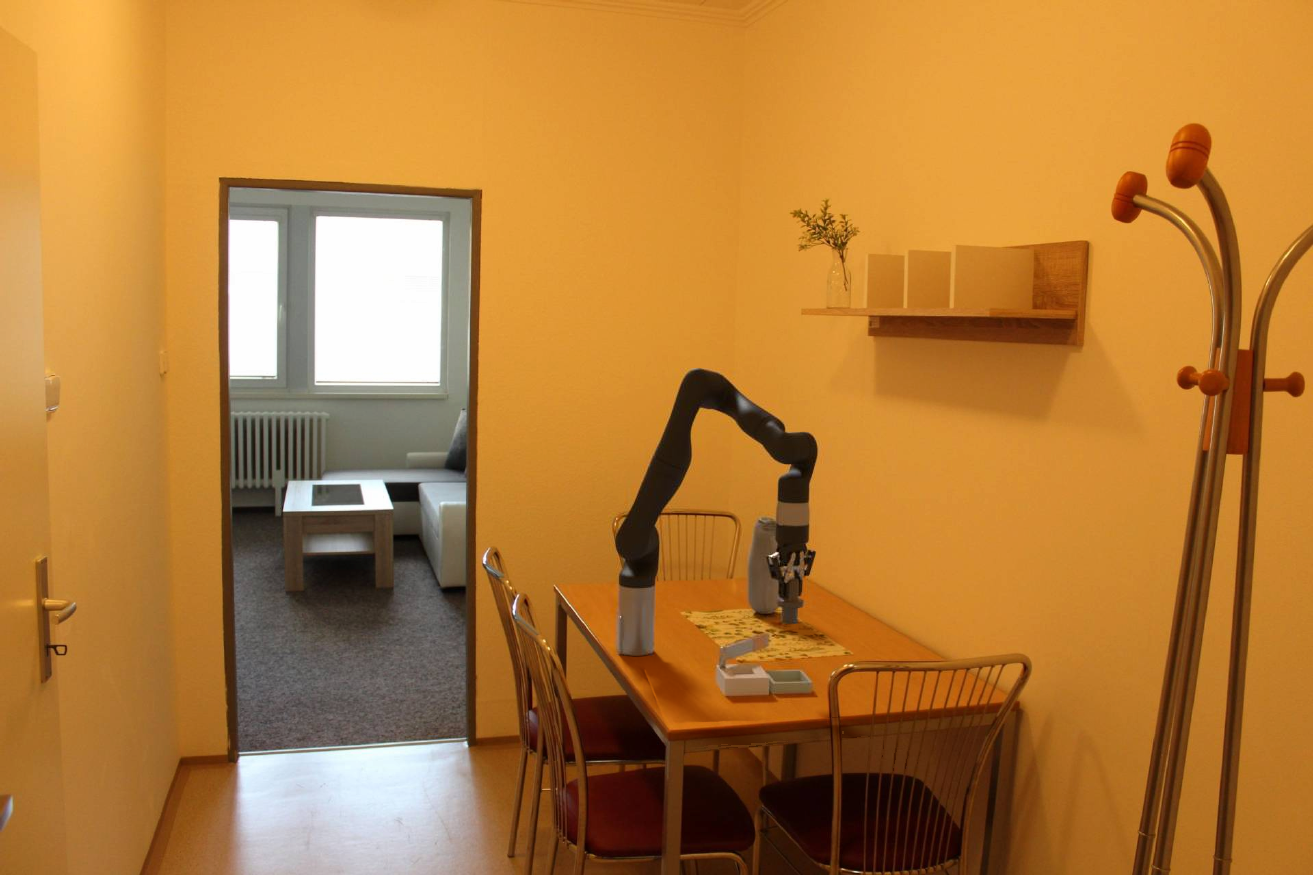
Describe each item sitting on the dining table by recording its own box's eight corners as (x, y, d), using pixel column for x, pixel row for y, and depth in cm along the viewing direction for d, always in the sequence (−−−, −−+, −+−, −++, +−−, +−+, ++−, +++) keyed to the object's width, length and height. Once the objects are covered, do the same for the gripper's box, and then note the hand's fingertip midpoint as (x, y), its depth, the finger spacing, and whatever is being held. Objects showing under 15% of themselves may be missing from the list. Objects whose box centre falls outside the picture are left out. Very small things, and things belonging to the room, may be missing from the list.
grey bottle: (787, 615, 309) (790, 520, 306) (756, 618, 305) (759, 521, 302) (771, 607, 318) (774, 514, 315) (740, 610, 314) (743, 516, 311)
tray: (772, 694, 237) (773, 683, 237) (763, 681, 246) (763, 670, 246) (812, 693, 238) (812, 682, 238) (801, 680, 247) (801, 669, 247)
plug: (779, 625, 237) (781, 582, 236) (773, 618, 243) (774, 575, 242) (806, 625, 238) (807, 581, 237) (798, 618, 244) (800, 575, 243)
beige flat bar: (723, 668, 241) (723, 648, 241) (717, 667, 242) (718, 647, 242) (769, 652, 254) (769, 633, 254) (763, 651, 256) (764, 632, 255)
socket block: (724, 696, 235) (725, 678, 235) (715, 681, 245) (716, 664, 244) (768, 695, 236) (769, 677, 236) (758, 680, 246) (758, 663, 246)
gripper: (802, 516, 246) (800, 589, 247) (757, 521, 237) (755, 597, 239) (826, 520, 240) (824, 596, 241) (781, 526, 231) (779, 604, 233)
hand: (790, 596), depth 240 cm, fingers closed on plug, 3 cm apart
